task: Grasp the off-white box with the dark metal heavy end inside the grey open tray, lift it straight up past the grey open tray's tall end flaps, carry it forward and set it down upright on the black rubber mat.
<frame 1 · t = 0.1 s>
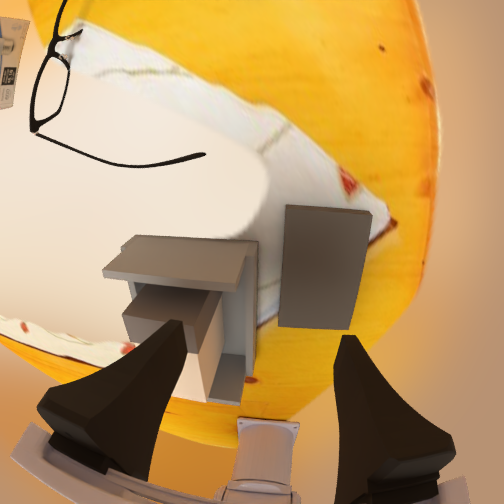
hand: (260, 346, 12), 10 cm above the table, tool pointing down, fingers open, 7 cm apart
light bulb box: (7, 66, 16), on the table
grey open tray: (198, 302, 24), on the table
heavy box: (196, 305, 24), resting on grey open tray
eyeglasses: (142, 53, 16), on the table
rubber mat: (321, 270, 21), on the table
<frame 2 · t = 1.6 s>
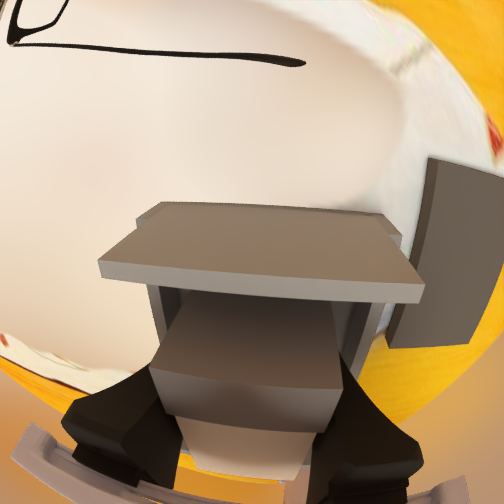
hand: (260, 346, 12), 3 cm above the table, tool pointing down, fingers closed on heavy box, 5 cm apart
grey open tray: (265, 317, 15), on the table
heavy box: (264, 323, 14), resting on grey open tray, touching gripper
rubber mat: (455, 262, 12), on the table
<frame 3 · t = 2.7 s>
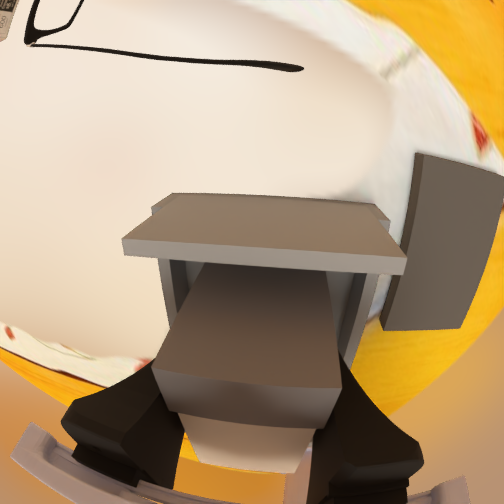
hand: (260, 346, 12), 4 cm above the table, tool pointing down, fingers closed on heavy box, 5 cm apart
grey open tray: (267, 301, 16), on the table
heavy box: (264, 317, 14), point 2 cm above the table, touching gripper
rubber mat: (444, 249, 13), on the table
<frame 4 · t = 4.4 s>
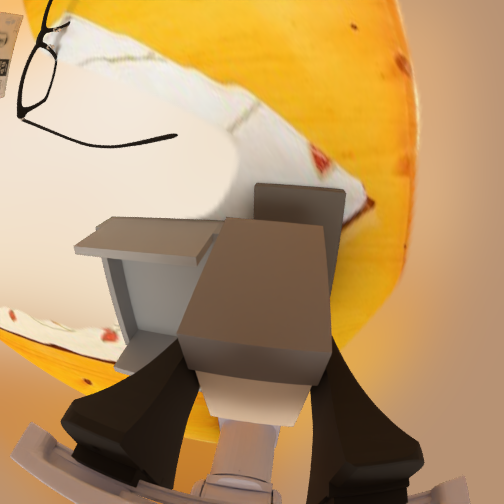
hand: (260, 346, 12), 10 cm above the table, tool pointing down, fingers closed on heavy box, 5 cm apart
light bulb box: (1, 59, 15), on the table
grey open tray: (172, 285, 24), on the table
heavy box: (270, 283, 16), point 5 cm above the table, tilted 11°, touching gripper
eyeglasses: (122, 42, 16), on the table
rubber mat: (294, 252, 21), on the table
when the fingers open (4 cm above the table, at t = 6.1 s): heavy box stays where it is, resting on rubber mat.
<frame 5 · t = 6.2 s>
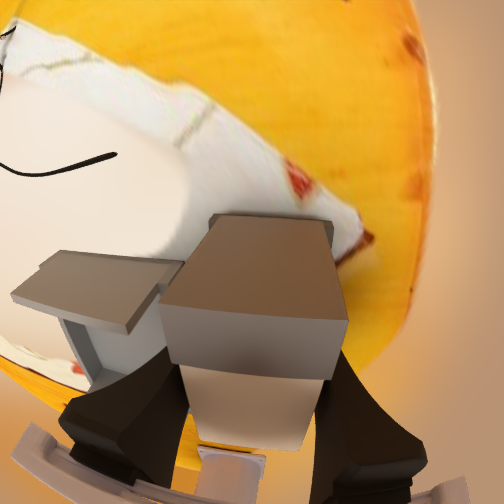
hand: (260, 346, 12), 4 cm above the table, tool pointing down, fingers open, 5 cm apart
grey open tray: (130, 328, 19), on the table
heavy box: (267, 292, 15), point 1 cm above the table, touching rubber mat
eyeglasses: (62, 44, 11), on the table
rubber mat: (268, 299, 16), on the table
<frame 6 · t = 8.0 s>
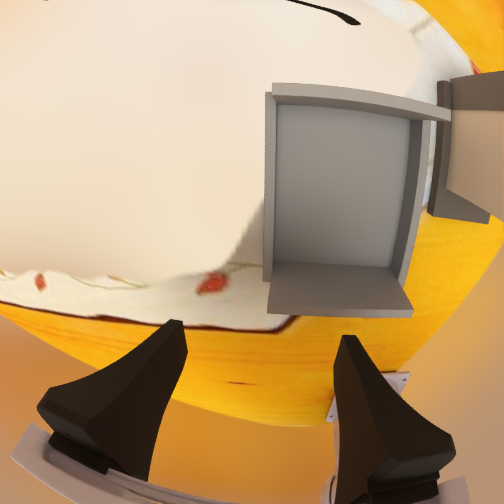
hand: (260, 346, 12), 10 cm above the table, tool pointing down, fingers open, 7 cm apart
grey open tray: (341, 189, 18), on the table
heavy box: (474, 140, 14), point 1 cm above the table, touching rubber mat
rubber mat: (466, 154, 15), on the table
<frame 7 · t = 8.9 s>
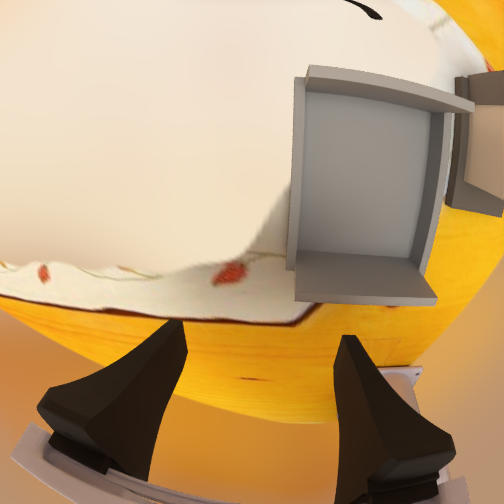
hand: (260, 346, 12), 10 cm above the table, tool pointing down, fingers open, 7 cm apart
grey open tray: (364, 178, 18), on the table
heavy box: (489, 135, 13), point 1 cm above the table, touching rubber mat
rubber mat: (481, 148, 15), on the table
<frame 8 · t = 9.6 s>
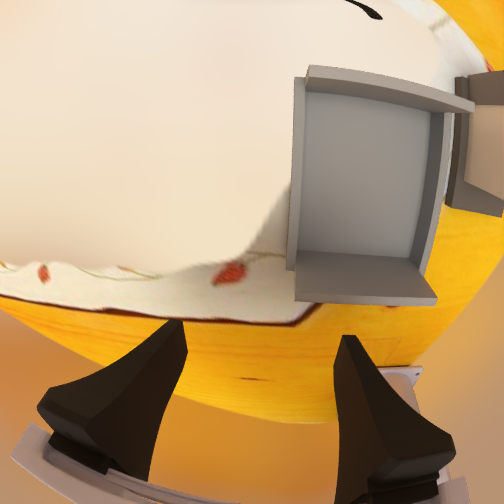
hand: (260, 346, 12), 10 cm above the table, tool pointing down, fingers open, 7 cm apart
grey open tray: (364, 178, 18), on the table
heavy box: (489, 135, 13), point 1 cm above the table, touching rubber mat
rubber mat: (481, 148, 15), on the table
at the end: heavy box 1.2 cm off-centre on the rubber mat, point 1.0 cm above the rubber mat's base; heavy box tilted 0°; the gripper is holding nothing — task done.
